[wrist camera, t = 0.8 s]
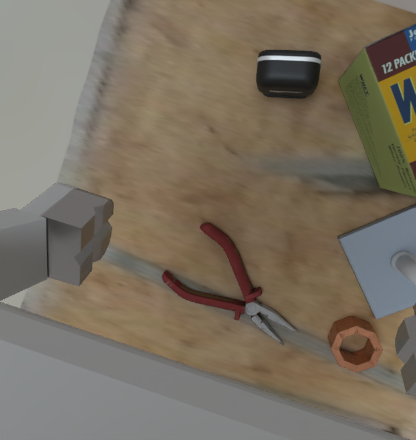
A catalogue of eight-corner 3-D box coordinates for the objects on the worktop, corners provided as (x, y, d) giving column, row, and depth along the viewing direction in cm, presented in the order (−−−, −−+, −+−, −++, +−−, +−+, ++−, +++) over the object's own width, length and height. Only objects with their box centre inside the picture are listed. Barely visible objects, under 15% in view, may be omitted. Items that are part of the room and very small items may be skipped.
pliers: (265, 361, 58) (264, 370, 56) (161, 275, 59) (156, 280, 56) (316, 306, 56) (318, 313, 53) (207, 217, 57) (204, 220, 54)
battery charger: (258, 102, 52) (252, 85, 41) (260, 72, 52) (256, 48, 41) (311, 105, 51) (320, 89, 40) (314, 74, 51) (325, 50, 40)
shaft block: (463, 282, 51) (506, 310, 41) (373, 315, 54) (394, 348, 44) (426, 199, 50) (461, 208, 41) (337, 237, 53) (350, 253, 43)
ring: (381, 349, 54) (388, 361, 51) (340, 363, 56) (344, 376, 52) (363, 311, 54) (369, 321, 51) (322, 326, 55) (325, 337, 52)
